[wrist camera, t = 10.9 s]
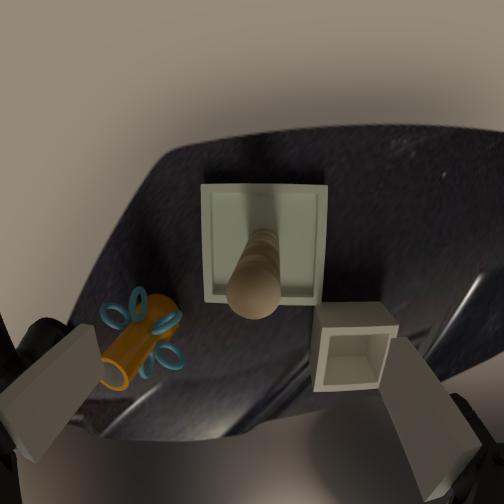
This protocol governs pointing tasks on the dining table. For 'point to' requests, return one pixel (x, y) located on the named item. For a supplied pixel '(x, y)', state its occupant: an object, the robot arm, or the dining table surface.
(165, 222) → the dining table surface
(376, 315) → the hollow square block
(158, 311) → the tube with teal loops
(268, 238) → the dowel
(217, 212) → the tray
